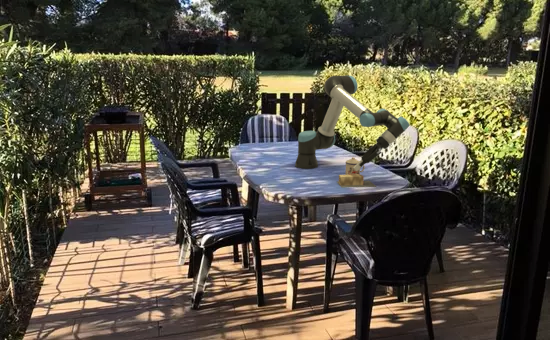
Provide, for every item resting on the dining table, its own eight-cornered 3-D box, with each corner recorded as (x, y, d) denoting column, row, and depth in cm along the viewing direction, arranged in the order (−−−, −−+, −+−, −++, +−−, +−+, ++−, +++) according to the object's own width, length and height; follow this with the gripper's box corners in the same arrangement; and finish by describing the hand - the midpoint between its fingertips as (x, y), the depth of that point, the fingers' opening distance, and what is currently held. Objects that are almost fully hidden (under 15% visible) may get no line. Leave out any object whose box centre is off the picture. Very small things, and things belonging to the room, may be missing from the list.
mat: (369, 181, 258) (369, 180, 258) (376, 187, 246) (376, 186, 246) (336, 182, 256) (336, 181, 256) (341, 188, 244) (341, 187, 244)
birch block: (361, 174, 253) (338, 174, 251) (363, 176, 248) (341, 177, 246) (360, 182, 254) (338, 183, 252) (363, 185, 249) (340, 185, 248)
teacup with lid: (347, 178, 266) (348, 159, 263) (343, 174, 275) (343, 156, 272) (366, 177, 268) (367, 158, 265) (361, 174, 276) (362, 155, 274)
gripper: (394, 146, 241) (362, 176, 243) (385, 142, 254) (356, 171, 256) (385, 137, 239) (353, 167, 242) (377, 133, 252) (347, 162, 254)
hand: (355, 169), depth 249 cm, fingers closed
